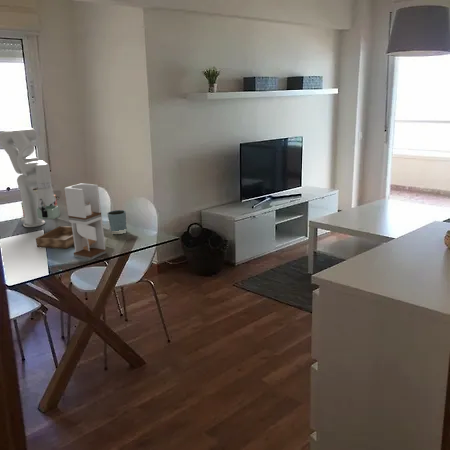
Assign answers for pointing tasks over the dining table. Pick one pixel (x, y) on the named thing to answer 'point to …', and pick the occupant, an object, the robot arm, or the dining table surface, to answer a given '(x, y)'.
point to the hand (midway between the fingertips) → (48, 215)
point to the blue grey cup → (117, 220)
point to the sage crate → (49, 212)
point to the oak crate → (56, 238)
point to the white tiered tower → (85, 220)
